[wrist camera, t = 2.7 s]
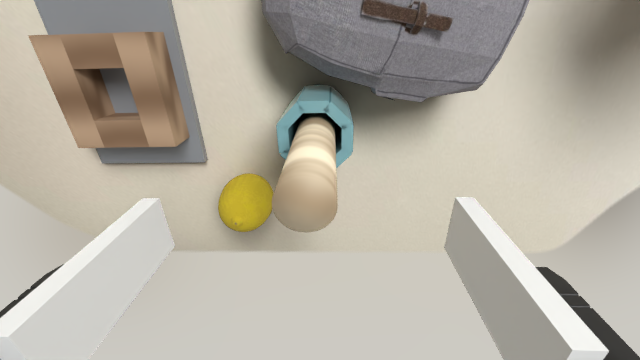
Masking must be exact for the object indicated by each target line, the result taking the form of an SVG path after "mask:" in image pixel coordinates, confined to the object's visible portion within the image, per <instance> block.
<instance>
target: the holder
mask: <svg viewBox="0 0 640 360" xmlns="http://www.w3.org/2000/svg"><path fill="white" fill-rule="evenodd" d="M29 38H30V41H31V43H32V45H33V47H34V50H35V52H36V54H37V56H38V58H39V61H40V63H41V65H42V67H43V70H44V72H45V74H46V76H47V79H48V81H49V83H50V85H51V88H52V90H53V92H54V94H55V96H56V99H57V101H58V103H59V105H60V108H61V110H62V112H63V114H64V117H65V119H66V121H67V123H68V125H69V128H70V130H71V132H72V134H73V137H74V139H75V141H76V143H77V146H78V148H113V147H176V146H178V145H179V144H180V143H182V142H183V141H185V140H186V139H187V138H189V137H190V136H189V132H188V128H187V124H186V120H185V116H184V112H183V108H182V104H181V100H180V96H179V92H178V88H177V84H176V80H175V76H174V72H173V68H172V64H171V60H170V56H169V52H168V48H167V44H166V40H165V36H164V32H122V33H92V34H61V35H31V36H29ZM100 68H124V70H125V73H126V76H127V79H128V83H129V86H130V89H131V92H132V95H133V98H134V101H135V104H136V107H137V110H138V113H115V111H114V108H113V105H112V102H111V100H110V97H109V94H108V91H107V89H106V86H105V83H104V80H103V78H102V75H101V72H100Z"/></svg>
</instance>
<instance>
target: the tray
mask: <svg viewBox="0 0 640 360" xmlns="http://www.w3.org/2000/svg"><path fill="white" fill-rule="evenodd" d="M34 1H35V4H36V6H37V9H38V11H39V13H40V16H41V18H42V21H43V23H44V25H45V28H46V30H47V33H48V35H61V34H92V33H122V32H164V36H165V40H166V44H167V48H168V52H169V56H170V60H171V64H172V68H173V72H174V76H175V80H176V84H177V88H178V92H179V96H180V100H181V104H182V108H183V112H184V116H185V120H186V124H187V128H188V132H189V136H190V137H189V138H187V139H186V140H185V141H183V142H182V143H180V144H179V145H178V146H176V147H113V148H96V150H97V152H98V155H99V157H100V159H101V162H102V163H182V162H206V161H207V160H208V159H207V154H206V150H205V146H204V141H203V137H202V133H201V128H200V124H199V120H198V115H197V111H196V106H195V102H194V98H193V93H192V89H191V85H190V80H189V76H188V71H187V67H186V63H185V58H184V54H183V50H182V45H181V41H180V36H179V32H178V28H177V23H176V19H175V15H174V10H173V6H172V1H171V0H34ZM100 72H101V75H102V78H103V80H104V83H105V86H106V89H107V91H108V94H109V97H110V100H111V102H112V105H113V108H114V111H115V113H138V110H137V107H136V104H135V101H134V98H133V95H132V92H131V89H130V86H129V83H128V79H127V76H126V73H125V70H124V68H100Z"/></svg>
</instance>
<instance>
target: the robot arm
mask: <svg viewBox="0 0 640 360" xmlns="http://www.w3.org/2000/svg"><path fill="white" fill-rule="evenodd" d="M174 247H175V244H174V241H173V238H172V235H171V232H170V229H169V226H168V223H167V220H166V217H165V214H164V211H163V208H162V205H161V202H160V199H159V198H142V199H141V200H140V201H139V202H138V203H137V204H135V205H134V206H133V207H132V208H131V209H129V210H128V211H127V212H126V213H125V214H123V215H122V216H121V217H120V218H119V219H117V220H116V221H115V222H114V223H113V224H112V225H110V226H109V227H108V228H107V229H106V230H104V231H103V232H102V233H101V234H100V235H98V236H97V237H96V238H95V239H94V240H93V241H91V242H90V243H89V244H88V245H87V246H85V247H84V248H83V249H82V250H81V251H80V252H78V253H77V254H76V255H75V256H74V257H72V258H71V259H70V260H69V261H68V262H66V263H65V264H63V265H61V266H59V267H58V268H56V269H54V270H52V271H51V272H49V273H47V274H46V275H44V276H43V277H42V278H41V279H39V280H38V281H37V282H36V283H35V284H33V285H32V286H31V288H30V289H28V290H26V291H25V292H24V293H22V294H21V295H20V296H19V297H18V299H17V300H14V301H13V302H11V303H10V304H9V305H8V306H7V307H5V308H4V309H3V310H2V311H1V312H0V360H89V358H90V357H91V356H92V354H93V353H94V352H95V350H96V349H97V348H98V346H99V345H100V344H101V343H102V341H103V340H104V339H105V337H106V336H107V335H108V333H109V332H110V331H111V329H112V328H113V327H114V325H115V324H116V323H117V322H118V320H119V319H120V318H121V316H122V315H123V314H124V312H125V311H126V310H127V308H128V307H129V306H130V304H131V303H132V302H133V301H134V299H135V298H136V297H137V295H138V294H139V292H140V291H141V290H142V289H143V287H144V286H145V285H146V283H147V282H148V281H149V279H150V278H151V277H152V276H153V274H154V273H155V272H156V270H157V269H158V268H159V266H160V265H161V264H162V262H163V261H164V260H165V258H166V257H167V256H168V255H169V253H170V252H171V251H172V249H173V248H174ZM444 248H445V250H446V252H447V254H448V255H449V257H450V259H451V261H452V263H453V265H454V267H455V269H456V271H457V272H458V274H459V276H460V278H461V280H462V282H463V284H464V286H465V287H466V289H467V291H468V293H469V295H470V297H471V299H472V301H473V303H474V304H475V306H476V308H477V310H478V312H479V314H480V316H481V318H482V320H483V322H484V323H485V325H486V327H487V329H488V331H489V333H490V335H491V337H492V338H493V340H494V342H495V344H496V346H497V348H498V350H499V352H500V354H501V355H502V357H503V359H504V360H640V357H639V356H638V355H637V354H636V353H635V352H634V351H633V350H632V349H631V348H630V347H629V346H628V345H627V344H626V343H625V342H624V341H623V340H622V339H621V338H620V336H619V335H617V333H616V332H615V331H614V330H613V329H612V328H611V327H610V326H609V325H608V324H607V323H606V322H605V321H604V320H603V319H602V318H601V317H600V316H599V315H598V314H597V313H596V312H595V311H594V309H593V308H590V306H589V304H588V303H587V302H586V301H585V300H584V299H583V298H582V297H581V296H578V293H577V292H576V291H575V290H574V289H573V288H572V286H571V285H570V284H569V283H568V282H567V281H566V280H564V279H563V278H562V277H560V276H559V275H557V274H556V273H554V272H553V271H551V270H550V269H549V268H547V267H535V266H534V265H533V264H532V263H531V262H530V261H529V260H528V259H527V257H526V256H525V255H524V254H523V253H522V252H521V251H520V249H519V248H518V247H517V246H516V245H515V244H514V243H513V241H512V240H511V239H510V238H509V237H508V236H507V235H506V234H505V232H504V231H503V230H502V229H501V228H500V227H499V226H498V224H497V223H496V222H495V221H494V220H493V219H492V218H491V216H490V215H489V214H488V213H487V212H486V211H485V210H484V209H483V207H482V206H481V205H480V204H479V203H478V202H477V201H476V199H475V198H474V197H455V201H454V206H453V210H452V215H451V219H450V224H449V228H448V233H447V238H446V242H445V247H444Z"/></svg>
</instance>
